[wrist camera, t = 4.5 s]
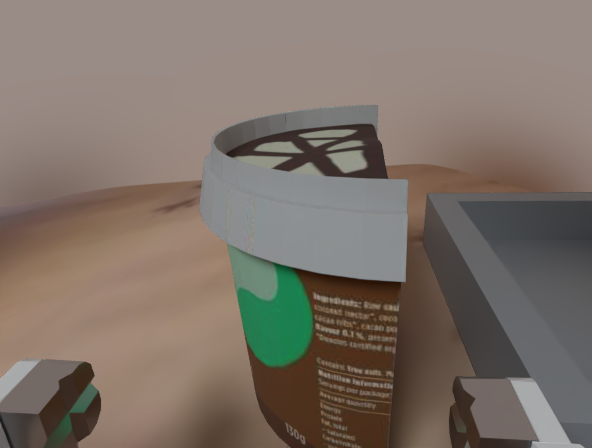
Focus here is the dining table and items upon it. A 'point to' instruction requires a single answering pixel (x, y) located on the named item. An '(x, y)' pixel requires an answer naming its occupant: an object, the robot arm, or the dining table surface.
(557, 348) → the tray
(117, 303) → the dining table surface
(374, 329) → the food container
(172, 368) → the dining table surface
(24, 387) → the robot arm
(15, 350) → the dining table surface
